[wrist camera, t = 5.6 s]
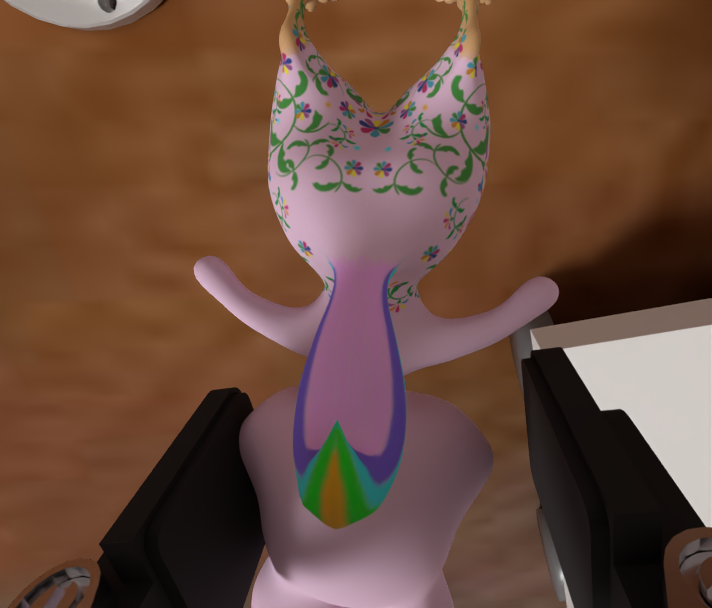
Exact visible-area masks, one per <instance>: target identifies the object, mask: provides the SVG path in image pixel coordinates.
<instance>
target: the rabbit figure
mask: <svg viewBox="0 0 712 608" xmlns="http://www.w3.org/2000/svg"><path fill="white" fill-rule="evenodd" d="M318 1H320V2H322V3H326V2H328V0H286V2H287V3H288V5H289V11H288V14H287V16H286V19H285V21H284V23H283V25H282V27H281V32H280V35H279V44H280V50H281V55H282V59H281V63H280V67H279V71H278V76H277V81H276V87H275V93H274V100H273V106H272V114H271V125H270V139H269V156H268V182H269V189H270V194H271V198H272V202H273V205H274V208H275V211H276V213H277V216H278V219H279V221H280V223H281V225H282V228H283V230H284V232H285V234H286V236H287V238H288V239H289V241H290V242H291V244H292V245H293V247H294V248H295V250H296V251H297V252H298V253H299V254H300V255H301V256H302V257H303V259H304V260H305V261H306V262H307V263H308V264H309V265H310V266H311V267H312V268H313V269H314V270H315V271H316V272H317V273H318V274H319V276H320V277H321V278H322V280H323V282H324V284H325V288H324V290H323V291H322V293H321V294H320V296H319V297H318V298H317V299H316V300H315V301H314V302H313V303H311V304H309V305H307V306H304V307H299V308H291V307H286V306H282V305H279V304H276V303H273V302H271V301H269V300H266V299H264V298H262V297H259V296H257V295H256V294H254V293H252V292H251V291H250V290H248V289H247V288H246V287H245V286H244V285H243V284H242V283H241V282H240V281H239V280H238V279H237V277H236V276H235V274H234V273H233V272H232V270H231V269H230V268H229V267H228V265H227V264H226V263H225V262H223V261H222V260H221V259H219V258H217V257H215V256H206V257H203V258H201V259H200V260H198V261H197V262H196V264H195V266H194V274H195V276H196V278H197V280H198V281H199V283H200V284H201V285H202V286H203V287H204V288H205V289H206V290H207V291H208V292H209V293H211V294H212V295H213V296H214V297H215V298H216V299H217V300H218V301H219V302H221V303H222V304H223V305H224V306H225V307H226V308H227V309H228V310H229V311H230V312H232V313H233V314H234V315H235V316H236V317H237V318H239V319H240V320H241V321H243V322H244V323H245V324H247V325H248V326H250V327H251V328H253V329H255V330H256V331H258V332H260V333H261V334H263V335H265V336H266V337H268V338H270V339H272V340H274V341H275V342H277V343H279V344H280V345H282V346H284V347H286V348H288V349H290V350H292V351H294V352H296V353H299V354H301V355H304V356H306V357H308V358H307V361H306V364H305V367H304V370H303V374H302V377H301V381H300V385H298V386H293V387H290V388H286V389H284V390H281V391H279V392H277V393H276V394H274V395H272V396H271V397H269V398H268V399H267V400H265V401H264V402H263V403H262V404H260V405H259V406H258V407H257V408H256V409H255V410H253V411H252V412H251V413H250V414H249V416H248V417H247V418H246V419H245V420H244V422H243V424H242V426H241V429H240V434H239V448H240V454H241V457H242V461H243V463H244V465H245V468H246V470H247V472H248V475H249V477H250V479H251V482H252V484H253V486H254V489H255V492H256V495H257V498H258V503H259V508H260V516H261V524H262V531H263V536H264V540H265V544H266V548H267V551H268V554H269V556H268V558H267V560H266V561H265V563H264V565H263V567H262V569H261V571H260V572H259V575H258V577H257V579H256V582H255V585H254V589H253V595H252V607H251V608H346V607H349V608H454V606H453V602H452V598H451V595H450V592H449V588H448V586H447V583H446V580H445V577H444V574H443V571H442V567H443V565H444V563H445V561H446V558H447V556H448V553H449V550H450V547H451V544H452V542H453V539H454V536H455V533H456V531H457V529H458V526H459V524H460V522H461V520H462V519H463V517H464V515H465V514H466V512H467V511H468V509H469V507H470V506H471V504H472V503H473V502H474V500H475V499H476V497H477V496H478V494H479V493H480V491H481V490H482V488H483V486H484V485H485V483H486V482H487V480H488V478H489V475H490V473H491V471H492V467H493V462H494V460H493V452H492V450H491V447H490V445H489V443H488V441H487V440H486V438H485V436H484V435H483V434H482V432H481V431H480V430H479V428H478V427H477V426H476V425H475V424H474V423H473V422H472V420H471V419H470V418H469V417H468V416H467V415H466V414H464V413H463V412H462V411H461V410H460V409H459V408H457V407H456V406H454V405H453V404H451V403H449V402H447V401H445V400H443V399H440V398H437V397H434V396H431V395H427V394H422V393H416V392H411V391H407V390H405V382H404V377H405V376H406V375H407V374H409V373H411V372H413V371H416V370H419V369H421V368H425V367H428V366H432V365H437V364H441V363H444V362H448V361H451V360H454V359H456V358H459V357H461V356H464V355H467V354H470V353H472V352H475V351H477V350H480V349H483V348H485V347H487V346H490V345H492V344H494V343H496V342H498V341H500V340H502V339H504V338H505V337H507V336H509V335H510V334H512V333H513V332H515V331H517V330H518V329H520V328H521V327H522V326H524V325H525V324H527V323H529V322H530V321H532V320H533V319H534V318H536V317H537V316H539V315H541V314H542V313H544V312H545V311H546V310H548V309H549V308H550V307H551V306H552V305H554V303H555V302H556V300H557V299H558V295H559V289H558V286H557V285H556V283H555V282H554V281H552V280H551V279H549V278H547V277H540V276H539V277H535V278H532V279H530V280H528V281H527V282H525V283H524V284H523V285H521V286H520V287H519V288H518V289H517V290H516V291H515V292H514V293H513V294H512V295H511V296H510V297H509V298H508V299H507V300H506V301H505V302H504V303H502V304H501V305H499V306H498V307H496V308H494V309H492V310H490V311H487V312H484V313H481V314H477V315H473V316H469V317H464V318H458V319H445V318H440V317H438V316H435V315H433V314H432V313H430V312H429V311H428V310H427V309H426V307H425V306H424V305H423V303H422V301H421V299H420V297H419V294H418V290H417V283H418V282H419V281H420V280H421V279H422V278H423V277H424V276H425V275H426V274H427V273H428V272H429V271H430V270H432V269H433V268H434V267H435V266H436V265H437V264H438V263H440V262H441V261H442V260H443V259H444V258H445V257H446V256H447V255H448V254H449V253H450V251H451V250H452V249H453V247H454V246H455V245H456V243H457V242H458V240H459V239H460V237H461V236H462V234H463V232H464V231H465V229H466V228H467V226H468V224H469V222H470V220H471V219H472V217H473V215H474V213H475V211H476V209H477V207H478V204H479V202H480V199H481V196H482V193H483V190H484V185H485V181H486V176H487V167H488V158H489V146H490V115H489V106H488V99H487V92H486V86H485V79H484V73H483V68H482V64H481V61H480V55H479V50H480V45H481V35H480V28H479V24H478V20H477V13H478V9H479V6H480V3H485V4H487V5H490V4H491V3H492V0H436V1H437V2H440V1H445V2H446V3H448V4H452V3H454V2H457V6H458V8H459V9H460V10H462V13H463V15H462V22H461V26H460V29H459V32H458V34H457V36H456V38H455V39H454V41H453V42H452V43H451V45H450V46H449V48H448V49H447V50H446V52H445V53H444V54H443V55H442V57H441V58H440V59H439V60H438V61H437V62H436V64H435V65H434V66H433V67H432V68H431V69H430V70H429V71H428V72H427V73H426V74H425V75H424V76H422V77H421V78H420V79H419V80H418V81H417V82H416V83H415V84H414V85H413V86H411V87H410V88H409V89H408V90H407V91H406V92H405V93H404V94H403V95H402V96H401V98H400V99H399V100H398V101H397V103H396V104H395V105H394V106H393V107H392V108H391V109H390V110H388V111H387V112H385V113H376V112H374V111H373V110H371V109H370V108H369V107H368V105H367V104H366V103H365V101H364V100H363V99H362V97H361V96H360V95H359V94H358V93H357V92H356V91H355V90H354V88H353V87H352V86H350V85H349V84H348V83H347V82H346V81H345V80H344V79H343V78H341V77H340V76H339V75H338V74H337V73H336V72H335V71H334V70H333V69H332V68H331V67H330V66H329V65H328V64H327V63H326V62H325V61H324V60H323V58H322V57H321V56H320V54H319V53H318V52H317V50H316V49H315V47H314V46H313V44H312V43H311V41H310V39H309V38H308V36H307V33H306V31H305V26H304V10H305V8H306V9H308V11H310V12H313V11H314V10H315V8H316V7H317V5H318ZM331 1H338V0H331Z"/></svg>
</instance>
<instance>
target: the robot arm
mask: <svg viewBox="0 0 712 608" xmlns="http://www.w3.org/2000/svg"><path fill="white" fill-rule="evenodd" d="M4 1H6V2H7V3H8V4H10V5H11V6H13V7H15V8H17V9H19V10H21V11H23V12H24V13H26V14H28V15H30V16H32V17H34V18H36V19H39V20H42V21H46V22H49V23H52V24H56V25H59V26H63V27H69V28H74V29H80V30H85V31H89V30H110V29H113V28H117V27H120V26H123V25H127V24H130V23H133V22H135V21H136V20H138V19H140V18H141V17H143V16H144V15H146V14H148V13H149V12H151V11H153V10H154V9H155V8H156V7H157V6H158V5H159V4H160V3H161V2H162V1H163V0H4ZM116 1H117V6H116V8H115V2H116ZM521 369H522V380H523V391H524V402H525V413H526V424H527V434H528V445H529V456H530V466H531V472H532V476H533V480H534V484H535V487H536V490H537V493H538V496H539V500H540V503H541V506H542V509H543V512H544V515H545V518H546V521H547V525H548V528H549V531H550V534H551V537H552V540H553V543H554V547H555V550H556V553H557V556H558V559H559V562H560V565H561V568H562V572H563V575H564V578H565V581H566V584H567V587H568V590H569V594H570V597H571V600H572V603H573V606H574V608H712V527H706V526H705V525H704V523H703V522H702V520H701V519H700V517H699V516H698V515H697V513H696V512H695V510H694V509H693V507H692V506H691V504H690V503H689V502H688V500H687V499H686V497H685V496H684V494H683V493H682V492H681V490H680V489H679V487H678V486H677V484H676V483H675V482H674V480H673V479H672V477H671V476H670V474H669V473H668V471H667V470H666V469H665V467H664V466H663V464H662V463H661V461H660V460H659V459H658V457H657V456H656V454H655V453H654V451H653V450H652V449H651V447H650V446H649V444H648V443H647V441H646V440H645V438H644V437H643V436H642V434H641V433H640V431H639V430H638V428H637V427H636V426H635V424H634V423H633V421H632V420H631V418H630V417H629V416H628V415H627V413H626V412H625V411H624V410H621V409H614V410H603V411H601V410H600V408H599V407H598V405H597V404H596V402H595V400H594V399H593V397H592V395H591V394H590V392H589V391H588V389H587V387H586V386H585V384H584V382H583V381H582V379H581V378H580V376H579V374H578V373H577V371H576V369H575V368H574V366H573V365H572V363H571V361H570V360H569V358H568V356H567V355H566V353H565V352H564V350H563V349H562V347H554V348H546V349H538V350H531V354H530V358H524V359H521ZM252 411H253V407H252V404H251V401H250V399H249V396H248V395H247V394H246V393H241V391H240V390H239V389H238V388H236V387H234V388H226V389H218V390H212V391H210V392H209V393H208V394H207V396H206V397H205V399H204V400H203V401H202V403H201V404H200V405H199V407H198V408H197V410H196V411H195V412H194V414H193V415H192V417H191V418H190V419H189V421H188V422H187V423H186V425H185V426H184V428H183V429H182V430H181V432H180V433H179V434H178V436H177V437H176V439H175V440H174V441H173V443H172V444H171V445H170V447H169V448H168V450H167V451H166V452H165V454H164V455H163V457H162V458H161V459H160V461H159V462H158V463H157V465H156V466H155V468H154V469H153V470H152V472H151V473H150V474H149V476H148V477H147V479H146V480H145V481H144V483H143V484H142V485H141V487H140V488H139V490H138V491H137V492H136V494H135V495H134V497H133V498H132V499H131V501H130V502H129V503H128V505H127V506H126V508H125V509H124V510H123V512H122V513H121V514H120V516H119V517H118V519H117V520H116V521H115V523H114V524H113V526H112V527H111V528H110V530H109V531H108V532H107V534H106V535H105V537H104V538H103V539H102V541H101V542H100V543H99V545H100V546H101V548H102V550H103V551H104V553H103V554H102V556H101V557H100V559H99V560H98V561H97V563H96V562H95V561H93V560H92V559H84V558H79V559H75V560H70V561H67V562H65V563H62V564H60V565H58V566H56V567H53V568H52V569H50V570H49V571H47V572H45V573H44V574H42V575H41V576H39V577H38V578H36V579H35V580H34V581H33V582H32V583H31V584H29V585H28V586H27V587H26V588H25V589H23V590H22V592H21V593H20V594H19V595H18V596H17V597H16V598H15V599H14V600H13V601H12V603H11V604H10V605H9V607H8V608H243V606H244V603H245V600H246V597H247V594H248V592H249V589H250V586H251V583H252V580H253V577H254V574H255V571H256V568H257V565H258V562H259V559H260V557H261V554H262V551H263V548H264V545H265V540H264V536H263V531H262V524H261V516H260V508H259V503H258V498H257V495H256V492H255V489H254V486H253V484H252V482H251V479H250V477H249V475H248V472H247V470H246V468H245V465H244V463H243V461H242V457H241V454H240V448H239V434H240V429H241V426H242V424H243V422H244V420H245V419H246V418H247V417H248V416H249V414H250V413H251V412H252Z"/></svg>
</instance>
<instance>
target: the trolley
mask: <svg viewBox="0 0 712 608" xmlns="http://www.w3.org/2000/svg"><path fill="white" fill-rule="evenodd" d="M509 336H510V343H511V348H512V353H513V358H514V363H515V367H516V371H517V375H518V379H519V383H520V386H521V390H522V393H523V396H524V391H523V380H522V369H521V359H524V358H530V354H531V350H538V349H546V348H554V347H562V349H563V350H564V352H565V353H566V355H567V356H568V358H569V360H570V361H571V363H572V365H573V366H574V368H575V369H576V371H577V373H578V374H579V376H580V378H581V379H582V381H583V382H584V384H585V386H586V387H587V389H588V391H589V392H590V394H591V395H592V397H593V399H594V400H595V402H596V404H597V405H598V407H599V408H600V410H601V411H603V410H614V409H621V410H624V411H625V412H626V413H627V415H628V416H629V417H630V418H631V420H632V421H633V423H634V424H635V426H636V427H637V428H638V430H639V431H640V433H641V434H642V436H643V437H644V438H645V440H646V441H647V443H648V444H649V446H650V447H651V449H652V450H653V451H654V453H655V454H656V456H657V457H658V459H659V460H660V461H661V463H662V464H663V466H664V467H665V469H666V470H667V471H668V473H669V474H670V476H671V477H672V479H673V480H674V482H675V483H676V484H677V486H678V487H679V489H680V490H681V492H682V493H683V494H684V496H685V497H686V499H687V500H688V502H689V503H690V504H691V506H692V507H693V509H694V510H695V512H696V513H697V515H698V516H699V517H700V519H701V520H702V522H703V523H704V525H705V526H706V527H712V298H709V299H703V300H697V301H691V302H686V303H680V304H674V305H668V306H663V307H657V308H651V309H645V310H639V311H634V312H628V313H622V314H616V315H610V316H605V317H599V318H593V319H587V320H582V321H576V322H570V323H564V324H558V325H554V323H553V321H552V319H551V316H550V314H549V313H548V311H547V310H546V311H545V312H544V313H542V314H541V315H539V316H537V317H536V318H534V319H533V320H532V321H530V322H529V323H527V324H525V325H524V326H522V327H521V328H520V329H518V330H517V331H515V332H513V333H512V334H510V335H509ZM537 520H538V526H539V531H540V536H541V541H542V545H543V550H544V554H545V558H546V562H547V566H548V570H549V573H550V577H551V580H552V584H553V587H554V590H555V593H556V596H557V598H558V600H559V601H566V603H567V608H574V606H573V603H572V600H571V597H570V594H569V590H568V587H567V584H566V581H565V578H564V575H563V572H562V568H561V565H560V562H559V559H558V556H557V553H556V550H555V547H554V543H553V540H552V537H551V534H550V531H549V528H548V525H547V521H546V518H545V515H544V512H543V509H537Z"/></svg>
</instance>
